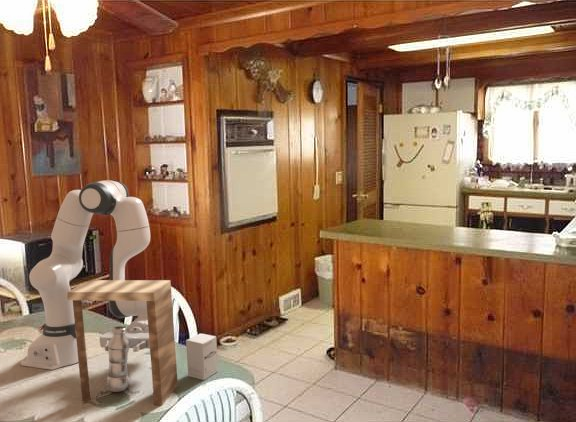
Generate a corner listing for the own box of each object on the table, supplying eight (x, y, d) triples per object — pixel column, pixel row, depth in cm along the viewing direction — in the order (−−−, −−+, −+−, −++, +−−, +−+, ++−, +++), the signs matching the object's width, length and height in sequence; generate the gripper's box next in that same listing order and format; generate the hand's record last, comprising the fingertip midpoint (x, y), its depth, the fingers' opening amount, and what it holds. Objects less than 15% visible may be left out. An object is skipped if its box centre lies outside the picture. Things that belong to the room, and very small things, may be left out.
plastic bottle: (120, 395, 157) (122, 331, 156) (101, 392, 159) (104, 328, 158) (132, 388, 163) (134, 326, 162) (114, 385, 165) (116, 323, 164)
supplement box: (204, 381, 166) (202, 343, 164) (187, 376, 170) (185, 339, 168) (218, 372, 172) (216, 336, 171) (202, 367, 176) (200, 332, 174)
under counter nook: (77, 401, 155) (66, 292, 151) (99, 382, 168) (89, 280, 163) (162, 405, 151) (153, 292, 147) (177, 384, 164) (170, 280, 160)
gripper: (110, 323, 175) (89, 338, 161) (167, 324, 172) (150, 340, 158) (111, 341, 176) (91, 357, 162) (168, 342, 173) (152, 359, 159)
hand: (120, 349), depth 160 cm, fingers open, 8 cm apart
